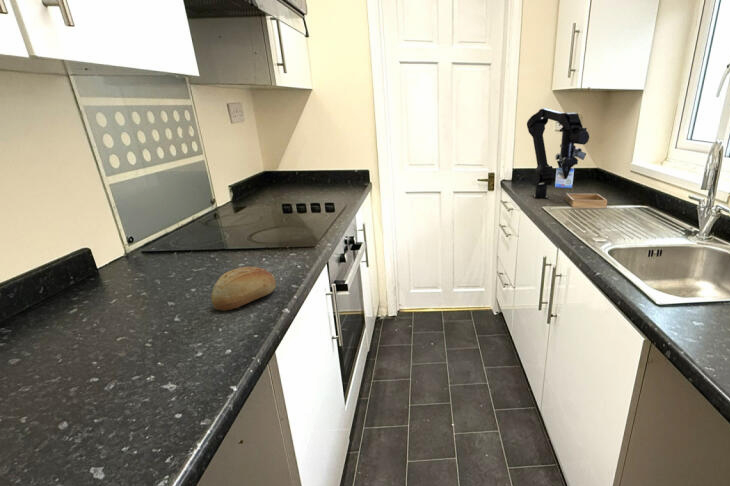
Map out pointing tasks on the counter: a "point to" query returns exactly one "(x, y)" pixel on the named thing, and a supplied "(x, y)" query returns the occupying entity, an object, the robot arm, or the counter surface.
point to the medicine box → (564, 182)
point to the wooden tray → (586, 200)
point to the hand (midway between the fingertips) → (564, 177)
